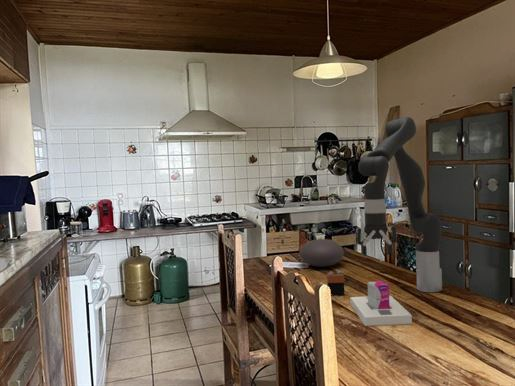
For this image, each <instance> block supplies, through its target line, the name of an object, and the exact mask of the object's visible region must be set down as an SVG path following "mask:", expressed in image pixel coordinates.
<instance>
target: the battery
mask: <svg viewBox="0 0 515 386" xmlns="http://www.w3.org/2000/svg"><path fill="white" fill-rule="evenodd" d="M326 276H327V277H326V278H327V287H328V286H329V287H330V289H331V294H332V295H333V296H334V295H337V296H345V295H346V293H345V275H344V273H343V271H342V270H336V271H335V272H334V271H329V272H327V273H326ZM334 297H335V296H334Z"/></svg>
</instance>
